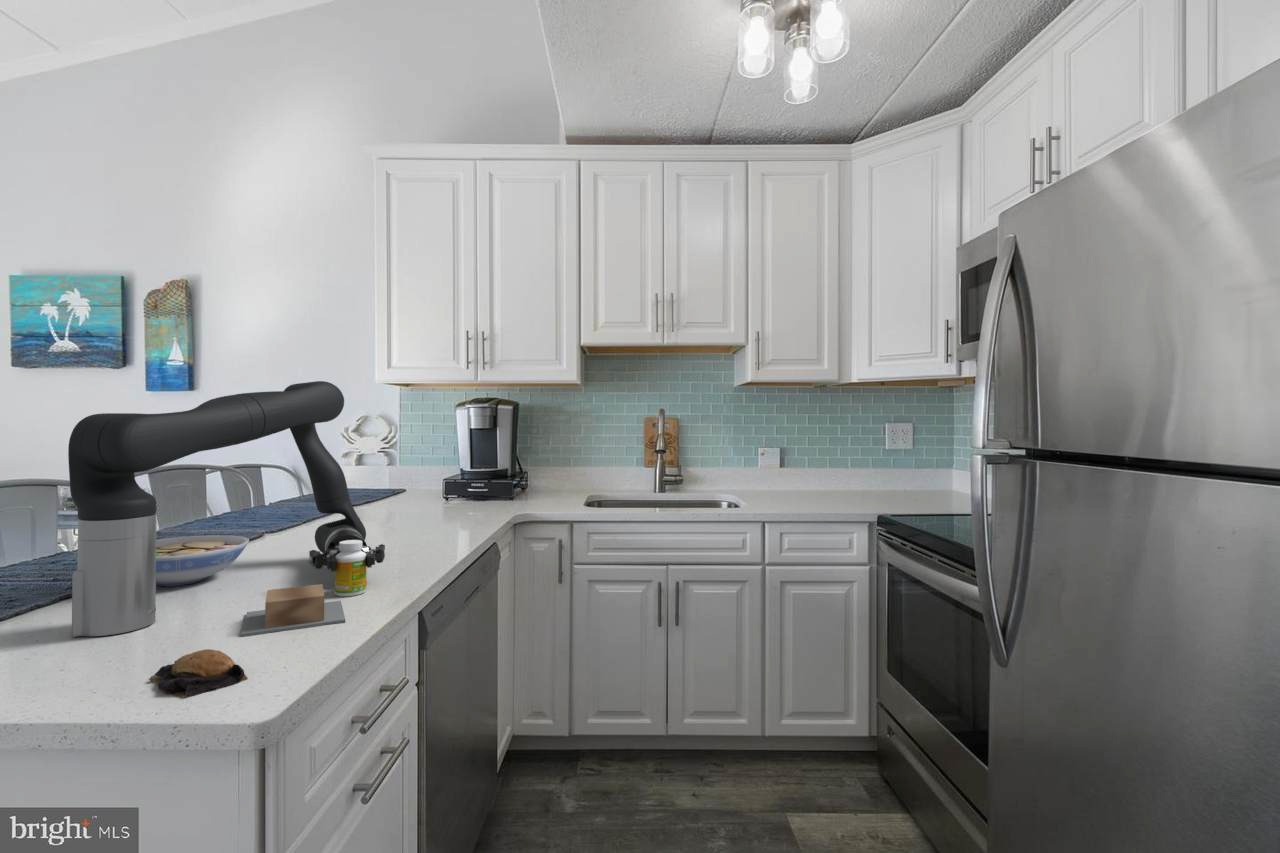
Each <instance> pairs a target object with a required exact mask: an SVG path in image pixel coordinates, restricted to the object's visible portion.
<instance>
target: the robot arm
mask: <svg viewBox="0 0 1280 853" xmlns="http://www.w3.org/2000/svg"><path fill="white" fill-rule="evenodd" d="M344 406H345V396H344V395H343V392H342V390H340V388H339V387H338V386H337V385H335V384H333V383H331V382H328V381H323V380H319V381H318V380H316V381H310V382H309V381H307V382H299V383H293V384H290V385H288V386H287V387H285V389H284V390H280V391H279V390H278V391H275V390H274V391H273V390H271V391H258V392H257V391H256V392H243V393H235V394H230V395H229V394H228V395H224V396H219V397H214V398H211V399H208V400H207V401H205V402H203V403H201V404H199V405H198V406H196V407H194V408H191V409H188V410H183V411H174V412H165V413H134V412H133V413H131V412H130V413H127V412H124V413H121V412H120V413H118V412H117V413H116V412H114V413H110V412H108V413H95V414H91V415H87V416H86V417H84V418H82V419H81V420H80V421H79V422H77V423H76V424H75V426H74V427H73V429H72V431H71V434H70V437H69V441H68V452H67V453H68V454H67V456H68V473H69V475H68V476H69V477H68V478H69V490H70V491H69V492H70V496H71V499H72V502H73V504H74V506H75V507H76V510H77V569H76V570H75V571H73V572H72V575H71V576H72V577H71V578H72V579H71V580H72V581H71V582H72V583H71V586H72V588H71V590H72V591H71V637H72V638H76V637H103V636H110V635H113V636H114V635H118V634H124V633H129V632H134V631H137V630H140V629H143V628H146V627H148V626H150V625H152V624H154V623H155V622H156V615H157V614H156V610H157V606H156V600H157V599H156V594H157V593H156V592H157V589H156V587H157V584H156V540H157V499H156V498H155V495H153V494H151V493H149V492H147V491H145V490H144V489H143V488H142V487H141V486H139V484H138V483H137V481H136V476H135V475H136V474H135V473H143V472H146V471H147V472H148V471H150V470H153V469H157V468H159V467H162V466H164V465H167V464H170V463H172V462H174V461H177V460H181V459H182V458H185V457H188V456H191V455H194V454H196V453H200V452H205V451H210V450H217V449H222V448H226V447H231V446H236V445H240V444H244V443H248V442H251V441H255V440H259V439H261V438H265V437H267V436H270V435H274V434H277V433H280V432H283V431H285V430H288V429H290V432H291V435H292V438H293V440H294V443H295V444H296V447H297V449H298V451H299V453H300V455H301V458H302V461H303V463H304V465H305V468H306V470H307V473H308V476H309V480H310V484H311V485H310V486H311V489H312V494H313V497H314V498H313V499H314V502H315V506H316V509H317V511H318V513H320V514H326V515H328V514H338V515H339V514H340V515H342V516H344V517H345V518H342V519H339V520H334V521H328V522H326V523H323V524H321V525H320V526H318V527H317V528H316V530H315V532H314V542H315V546H316V547H317V549H318V550H315V549H311V550H309V551H308V555H309V561H308V563H309V565H310V566H311V567H312V568H315V570H316V569H317V570H320V569H323V566H325V568H326V570H330V571H331V572H335V571H336V558H335V557H336V555H337V554H339V553H340V550H339V542H341V541H346V540H361V541H362V549H361V551H362V552H364V553H366V569H367V568H369V569H370V568H372V566H374V565H376V563H378V564H382V563H383V562H384V560H385V556H386V545H385V544H384V543H382V544H378V545H376V546H375V548H372V547H371V546H368V545H367V542H366V538H367V530H366V527H365V525H364V523H363V522H362V520H361V518H360V517H359V515H358V514H357V512H356V510H355V508H354V506H353V503H352V500H351V498H350V493H349V488H348V485H347V481H346V477H345V473H344V471H343V469H342V467H341V466H340V464H339V462H337V460H336V459H335V457H333V455H332V454H331V453H330V452H329V451H328V449H327V448H326V447H325V445H324V444H323V442H322V441H321V439H320V437H319V434H318V431H317V428H316V427H317V426H316V424H320V423H328V422H331V421H333V420H334V419H337V418H338V417H339V416H340V415H341V413H342V411H343V409H344Z"/></svg>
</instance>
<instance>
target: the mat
mask: <svg viewBox="0 0 1280 853" xmlns="http://www.w3.org/2000/svg"><path fill="white" fill-rule="evenodd" d="M340 623H346V616H345V613H344V608H343V603H342V600H333V601H324V621H318V622H311V623H304V624H296V625H289V626H282V627H274V628H267V629H265V609H261V610H253V611H247V612H246V615H245V617H244V622H243V626H242V630H241V633H240V637H248V636H249V637H250V636H256V635H262V634H269V633H277V632H284V631H291V630H299V629H305V628H306V629H307V628H313V627H320V626H328V625H333V624H340Z"/></svg>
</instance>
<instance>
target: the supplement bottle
mask: <svg viewBox="0 0 1280 853" xmlns="http://www.w3.org/2000/svg"><path fill="white" fill-rule="evenodd" d="M361 549H362V541H361V540H346V541H341V542H339V550H340V553H339V554H337V555H336V557H335V558H336V571H334V594H335V595H336V596H337V597H354V596H359V595H362V594H364V593H366V592H367V566H366V553H364V552H362V551H361Z"/></svg>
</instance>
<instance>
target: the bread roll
mask: <svg viewBox="0 0 1280 853" xmlns="http://www.w3.org/2000/svg"><path fill="white" fill-rule="evenodd" d="M149 679H150V682H152V683H153V684H154V685H155V687H157V688H159V690H161V691H163V692H164V693H165V694H168V695H169V696H172V697H174V698H177V699H180V698H181V699H182V697H183V699H188V698H191V697H195V696H199V695H201V694H206V693H209V692H212V691H215V690H216V691H217V690H219V689H224V688H228V687H231V686H234V685H236V684H238V683H242V682H243V681H247V680H248V679H249V678H248V676H246V674H245V670H244V669H243V668H242V667H241V666H240V665H239V664H236V662H235V661H234V660H233V659H232V658H231V657H230V656H229V655H228V654H227V653H224V652H222V651H221V650H215V649H212V648H211V649H210V648H209V649H205V648H204V649H201V650H197V651H194V652H192V653H188V654H185V655H183V656H181V657H179V658H178V659H176V660H174V663H172V664H167V665H163V666H160V667H159V669H158V670H157V672H155V673H154V675H152V676H150V678H149Z"/></svg>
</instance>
